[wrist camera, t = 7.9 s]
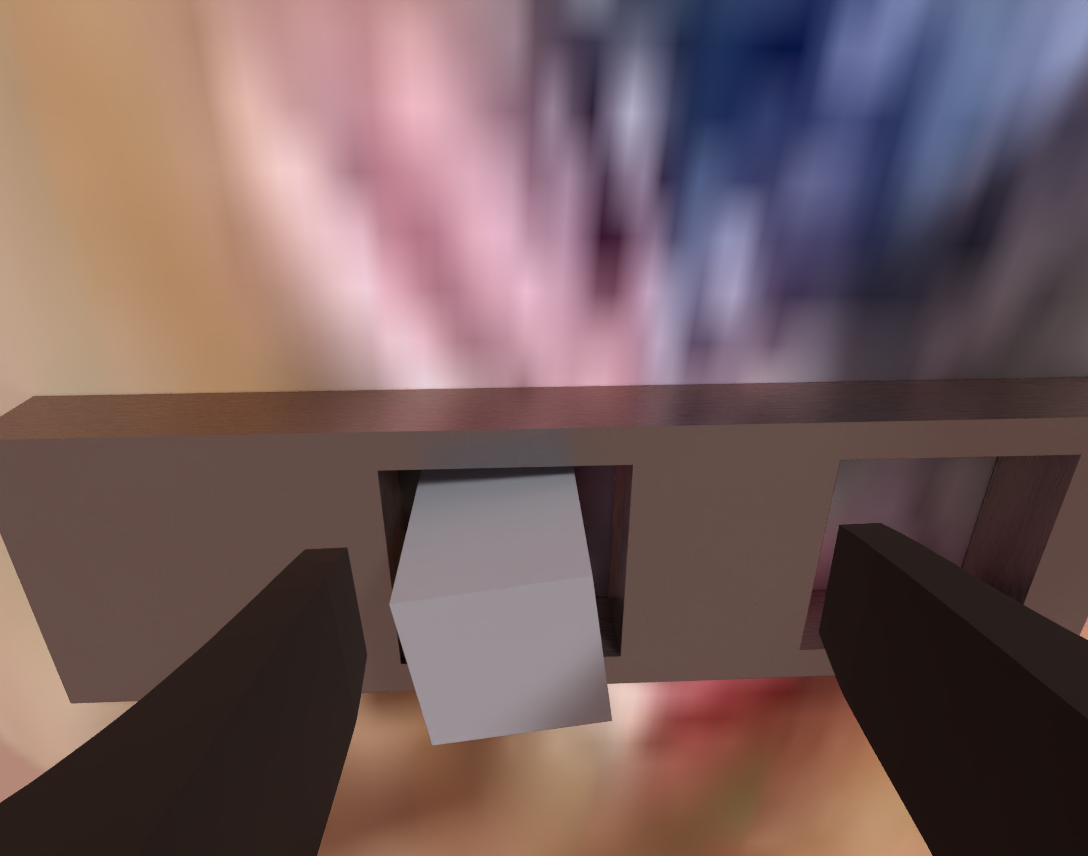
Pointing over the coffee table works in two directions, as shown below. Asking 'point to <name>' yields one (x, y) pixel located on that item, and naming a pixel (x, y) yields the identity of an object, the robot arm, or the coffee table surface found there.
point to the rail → (504, 442)
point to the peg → (499, 604)
